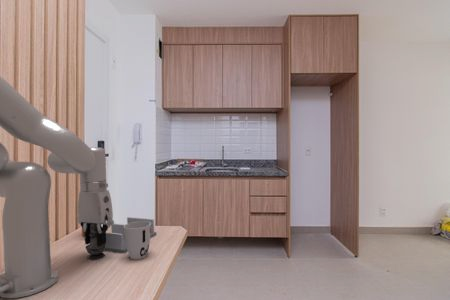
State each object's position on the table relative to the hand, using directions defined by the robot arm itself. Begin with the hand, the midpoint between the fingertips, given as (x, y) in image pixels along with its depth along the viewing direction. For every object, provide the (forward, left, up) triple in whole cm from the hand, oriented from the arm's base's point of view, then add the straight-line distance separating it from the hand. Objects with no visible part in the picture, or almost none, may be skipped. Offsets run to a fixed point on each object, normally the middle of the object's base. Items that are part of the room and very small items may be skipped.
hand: (95, 243), depth 87 cm
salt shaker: (0, 0, -4) cm, 4 cm away
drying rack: (+14, 0, -4) cm, 15 cm away
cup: (+4, -13, -4) cm, 14 cm away
